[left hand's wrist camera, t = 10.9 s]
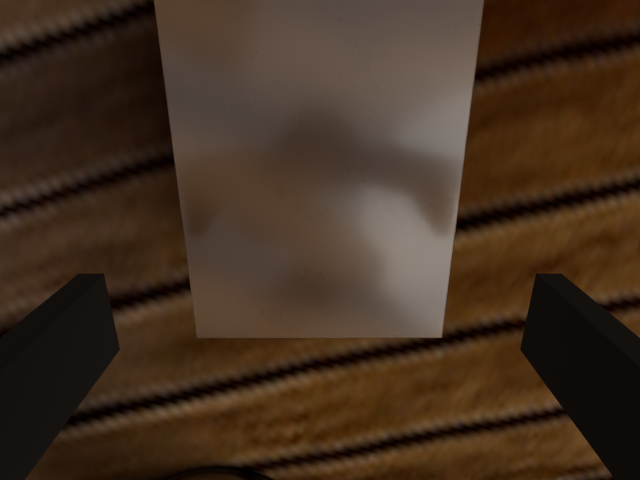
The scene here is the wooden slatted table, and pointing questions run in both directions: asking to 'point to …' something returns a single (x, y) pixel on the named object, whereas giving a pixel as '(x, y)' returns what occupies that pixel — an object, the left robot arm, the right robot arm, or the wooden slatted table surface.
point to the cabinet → (319, 160)
